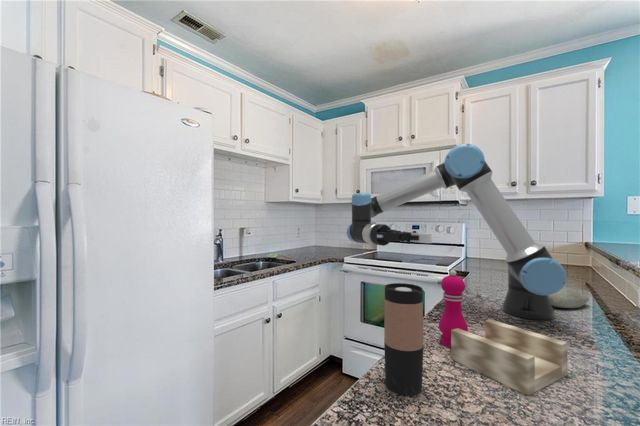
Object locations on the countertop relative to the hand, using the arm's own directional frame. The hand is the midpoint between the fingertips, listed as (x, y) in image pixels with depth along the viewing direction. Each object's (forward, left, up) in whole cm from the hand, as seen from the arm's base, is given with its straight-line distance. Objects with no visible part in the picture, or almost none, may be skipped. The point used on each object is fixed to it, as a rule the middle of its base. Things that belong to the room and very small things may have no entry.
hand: (429, 238), depth 88 cm
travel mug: (+19, +24, -28) cm, 42 cm away
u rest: (-7, +21, -28) cm, 36 cm away
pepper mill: (-3, +7, -28) cm, 29 cm away
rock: (-66, -18, -28) cm, 75 cm away
